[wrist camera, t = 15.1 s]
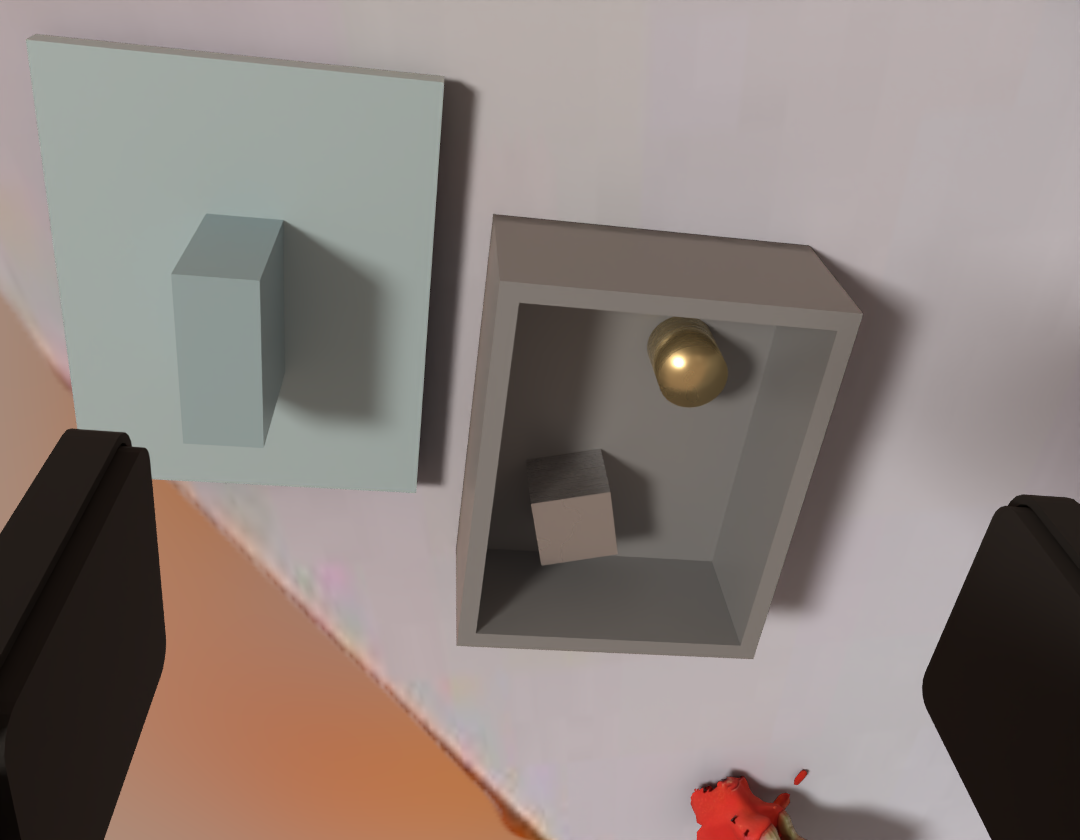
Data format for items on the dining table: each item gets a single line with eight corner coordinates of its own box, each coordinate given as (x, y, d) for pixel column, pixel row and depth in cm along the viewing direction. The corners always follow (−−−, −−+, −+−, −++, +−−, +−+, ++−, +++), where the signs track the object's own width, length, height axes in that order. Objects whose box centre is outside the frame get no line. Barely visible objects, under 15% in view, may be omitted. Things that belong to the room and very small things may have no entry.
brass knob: (719, 318, 46) (734, 349, 43) (705, 376, 47) (719, 409, 45) (653, 312, 46) (665, 343, 43) (641, 371, 47) (652, 404, 45)
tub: (808, 245, 45) (863, 313, 39) (720, 564, 54) (753, 659, 48) (493, 214, 44) (500, 280, 38) (456, 549, 53) (456, 645, 47)
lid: (444, 69, 41) (442, 126, 34) (417, 466, 50) (411, 575, 43) (46, 27, 39) (-42, 79, 32) (97, 449, 48) (38, 559, 42)
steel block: (600, 448, 49) (610, 492, 46) (607, 508, 51) (617, 554, 48) (525, 459, 49) (531, 504, 46) (535, 519, 51) (541, 565, 48)
